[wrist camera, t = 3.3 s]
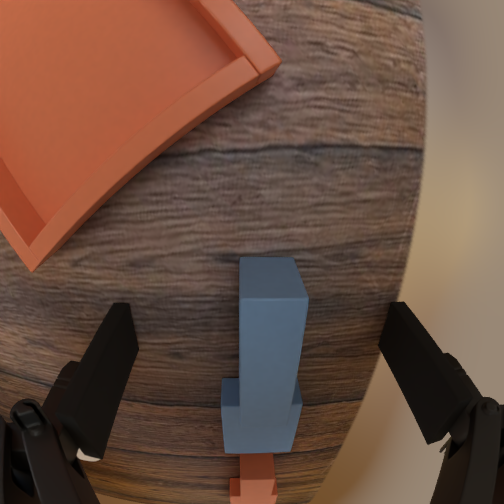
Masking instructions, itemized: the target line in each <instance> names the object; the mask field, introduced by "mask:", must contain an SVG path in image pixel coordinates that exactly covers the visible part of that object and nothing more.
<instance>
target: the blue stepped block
mask: <svg viewBox="0 0 504 504" xmlns="http://www.w3.org/2000/svg"><path fill="white" fill-rule="evenodd" d="M308 304H309V297H308V295H307V292H306V289H305V287H304V284H303V281H302V279H301V276H300V273H299V271H298V268H297V265H296V263H295V260H294V258H293V257H240V259H239V378H222V387H221V416H222V428H223V439H224V449H225V453H274V452H290V451H291V448H292V444H293V441H294V437H295V433H296V429H297V425H298V421H299V417H300V413H301V409H302V405H303V402H302V397H301V393H300V388H299V383H298V378H297V373H298V367H299V361H300V356H301V350H302V343H303V337H304V331H305V324H306V318H307V311H308Z"/></svg>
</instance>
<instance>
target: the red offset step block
mask: <svg viewBox="0 0 504 504" xmlns="http://www.w3.org/2000/svg"><path fill="white" fill-rule="evenodd" d="M277 495H278V493H277V483H276V477H275V470H274V460H273V453H240V478H230V503H231V504H275V501H276V498H277Z"/></svg>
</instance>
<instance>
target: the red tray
mask: <svg viewBox="0 0 504 504" xmlns="http://www.w3.org/2000/svg"><path fill="white" fill-rule="evenodd" d="M281 63H282V60H281V59H280V57H279V56H278V55H277V53H276V52H275V51H274V49H273V48H272V47H271V46H270V44H269V43H268V42H267V40H266V39H265V38H264V37H263V36H262V34H261V33H260V32H259V31H258V29H257V28H256V27H255V26H254V25H253V23H252V22H251V21H250V20H249V19H248V18H247V16H246V15H245V14H244V13H243V12H242V11H241V10H240V8H239V7H238V6H237V5H236V4H235V3H234V2H233V1H232V0H0V230H1V232H2V233H3V235H4V236H5V238H6V239H7V240H8V242H9V243H10V245H11V246H12V247H13V249H14V250H15V252H16V253H17V254H18V256H19V257H20V258H21V260H22V261H23V262H24V263H25V265H26V266H27V267H28V269H29V270H30V271H31V272H34V271H35V270H36V269H37V268H38V267H39V266H40V265H42V264H43V263H44V262H45V261H46V260H47V259H48V258H50V257H51V256H52V255H53V254H54V253H55V252H56V251H58V250H59V249H60V248H61V247H62V246H63V245H64V243H65V242H66V241H67V240H68V239H69V238H70V237H71V236H72V235H73V234H74V233H75V232H76V231H77V230H78V229H79V228H80V227H81V226H82V225H83V224H84V223H85V222H86V221H87V220H88V219H89V218H90V217H91V216H92V215H93V214H94V213H95V212H96V211H97V210H98V209H99V208H100V207H101V206H102V205H103V204H104V203H105V202H106V201H107V200H108V199H109V198H110V197H111V196H113V195H114V194H115V193H116V192H117V191H118V190H119V189H120V188H121V187H122V186H123V185H125V184H126V183H127V182H128V181H129V180H130V179H131V178H133V177H134V176H135V175H136V174H137V173H138V172H139V171H141V170H142V169H143V168H144V167H145V166H146V165H148V164H149V163H150V162H151V161H152V160H154V159H155V158H156V157H157V156H159V155H160V154H161V153H162V152H164V151H165V150H166V149H167V148H169V147H170V146H171V145H172V144H174V143H175V142H176V141H177V140H179V139H180V138H181V137H183V136H184V135H185V134H187V133H188V132H189V131H191V130H192V129H193V128H195V127H196V126H197V125H199V124H200V123H202V122H203V121H204V120H206V119H207V118H208V117H210V116H211V115H213V114H214V113H216V112H217V111H218V110H220V109H221V108H223V107H224V106H226V105H227V104H229V103H230V102H232V101H233V100H235V99H236V98H238V97H239V96H241V95H242V94H244V93H245V92H247V91H249V90H250V89H252V88H253V87H255V86H257V85H258V84H260V83H261V82H263V81H265V80H266V79H268V78H270V77H271V76H273V75H274V73H275V71H276V70H277V68H278V67H279V65H280V64H281Z"/></svg>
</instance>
